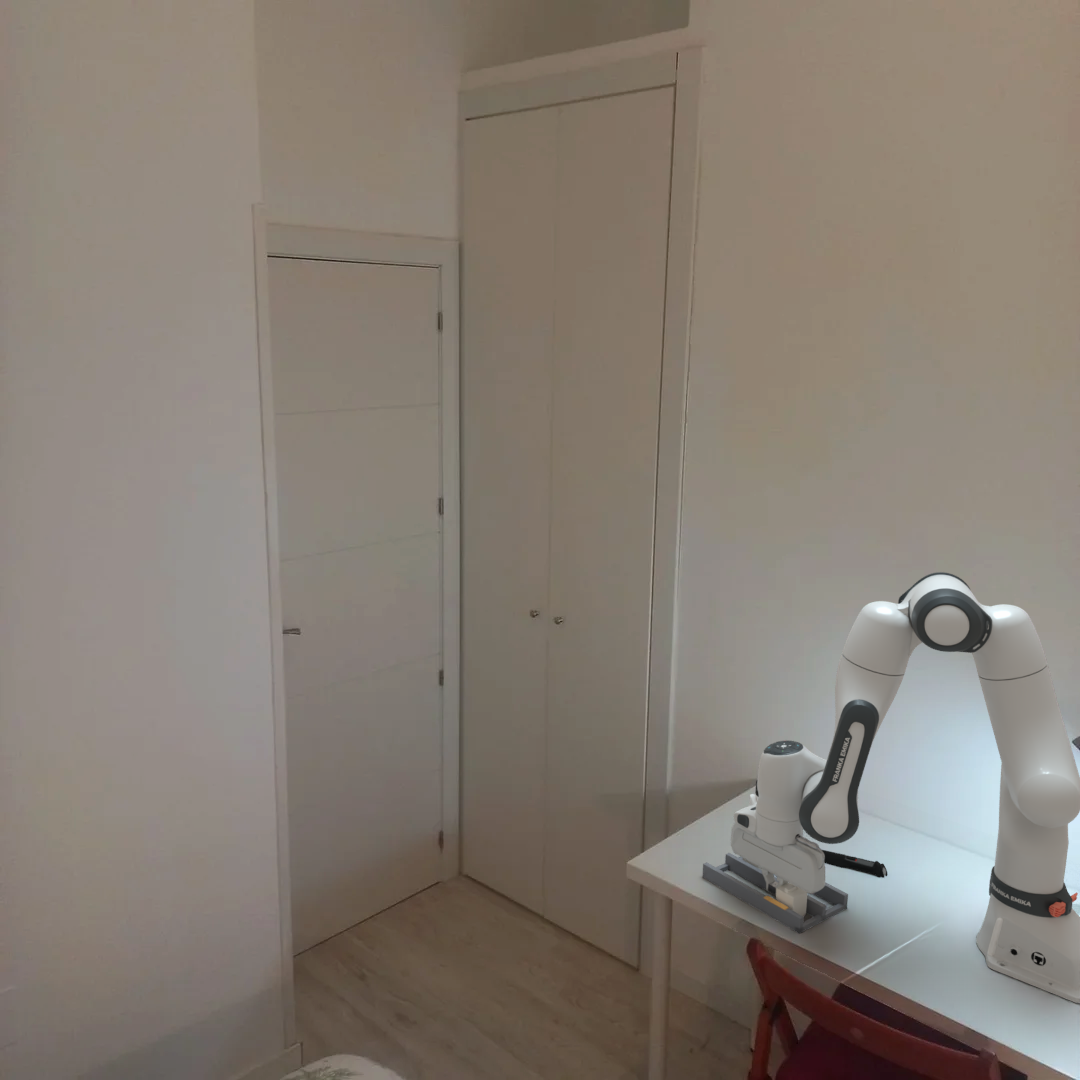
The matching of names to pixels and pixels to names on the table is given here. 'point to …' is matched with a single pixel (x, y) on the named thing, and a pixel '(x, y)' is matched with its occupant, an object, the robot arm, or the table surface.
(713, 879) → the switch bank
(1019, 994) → the table surface
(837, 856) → the electric trimmer
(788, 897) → the white boxy block
